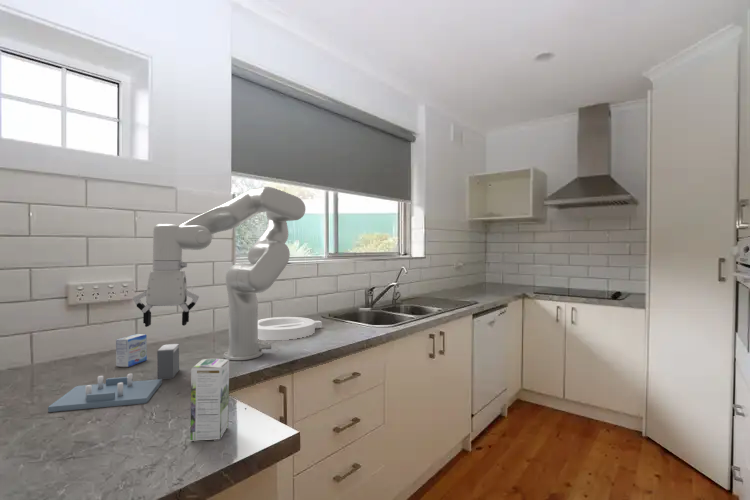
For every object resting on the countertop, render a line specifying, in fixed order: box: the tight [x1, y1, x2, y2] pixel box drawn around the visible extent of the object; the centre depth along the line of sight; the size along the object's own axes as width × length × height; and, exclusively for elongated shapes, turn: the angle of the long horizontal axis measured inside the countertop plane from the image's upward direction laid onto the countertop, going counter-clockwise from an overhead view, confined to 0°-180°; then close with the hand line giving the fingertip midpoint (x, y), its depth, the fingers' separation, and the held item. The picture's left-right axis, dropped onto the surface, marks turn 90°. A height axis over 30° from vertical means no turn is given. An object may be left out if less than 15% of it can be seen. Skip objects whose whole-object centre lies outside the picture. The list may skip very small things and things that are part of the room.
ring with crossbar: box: [258, 316, 323, 341], centre depth 172 cm, size 28×28×5 cm
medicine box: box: [115, 333, 148, 368], centre depth 127 cm, size 8×4×9 cm, turn 168°
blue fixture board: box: [47, 372, 163, 413], centre depth 99 cm, size 20×14×4 cm
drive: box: [156, 343, 180, 380], centre depth 117 cm, size 4×8×8 cm, turn 15°
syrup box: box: [189, 358, 230, 440], centre depth 79 cm, size 6×6×14 cm
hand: (166, 325), depth 116 cm, fingers open, 9 cm apart
